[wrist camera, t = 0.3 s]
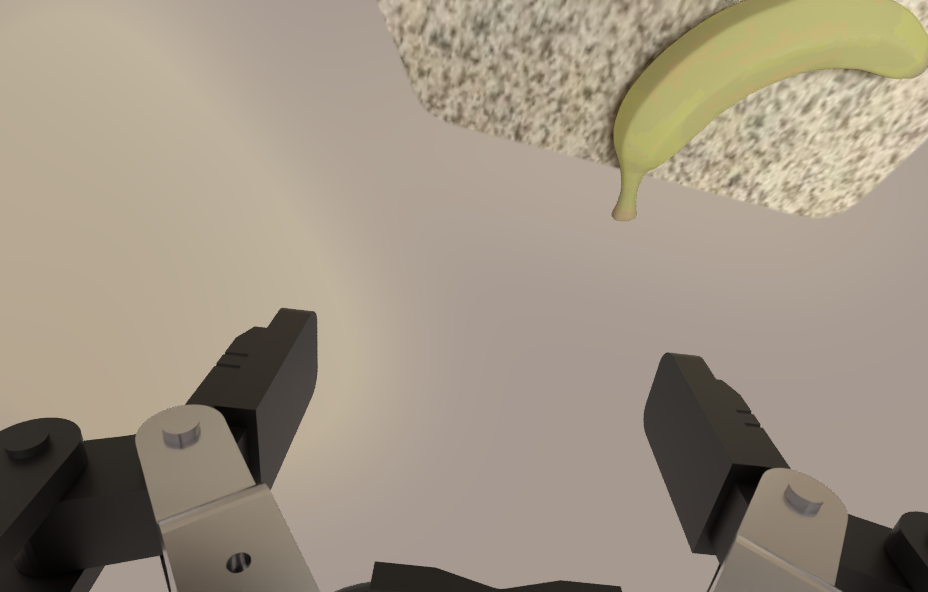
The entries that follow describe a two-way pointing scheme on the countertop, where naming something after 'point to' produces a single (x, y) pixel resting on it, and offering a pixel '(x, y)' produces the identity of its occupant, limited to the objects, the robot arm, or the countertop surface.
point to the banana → (753, 69)
